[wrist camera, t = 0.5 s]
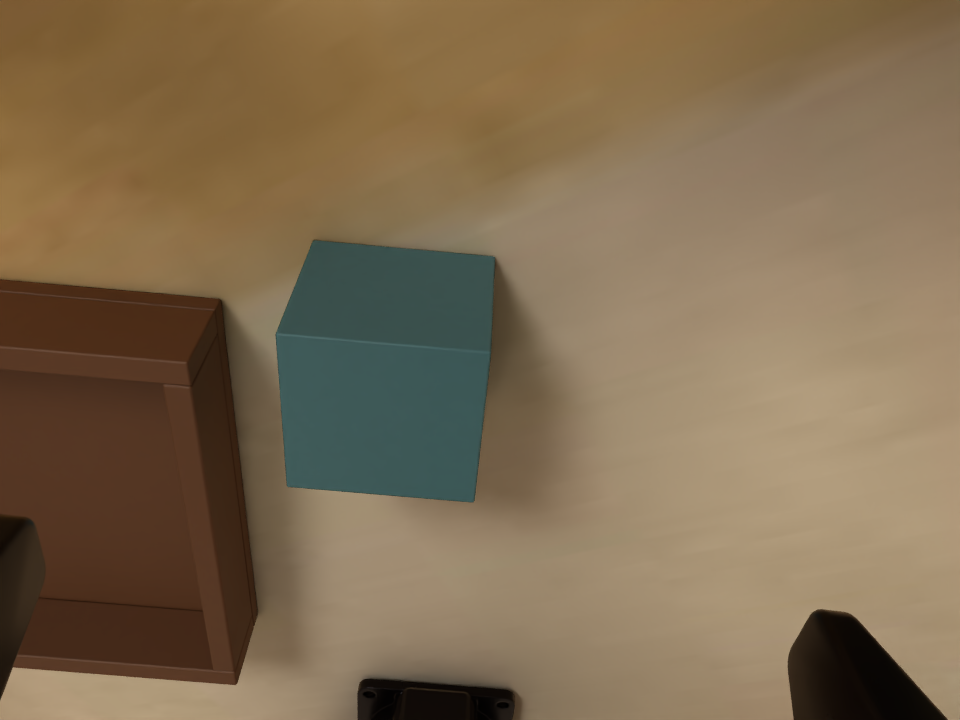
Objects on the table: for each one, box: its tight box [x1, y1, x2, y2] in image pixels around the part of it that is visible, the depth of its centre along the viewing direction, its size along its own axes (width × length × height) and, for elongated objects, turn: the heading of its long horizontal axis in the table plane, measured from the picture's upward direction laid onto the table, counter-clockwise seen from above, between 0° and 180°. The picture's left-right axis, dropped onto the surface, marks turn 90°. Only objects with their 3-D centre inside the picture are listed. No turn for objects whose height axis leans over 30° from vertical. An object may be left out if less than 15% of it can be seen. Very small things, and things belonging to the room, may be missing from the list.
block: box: [276, 240, 495, 502], centre depth 23 cm, size 5×5×4 cm
